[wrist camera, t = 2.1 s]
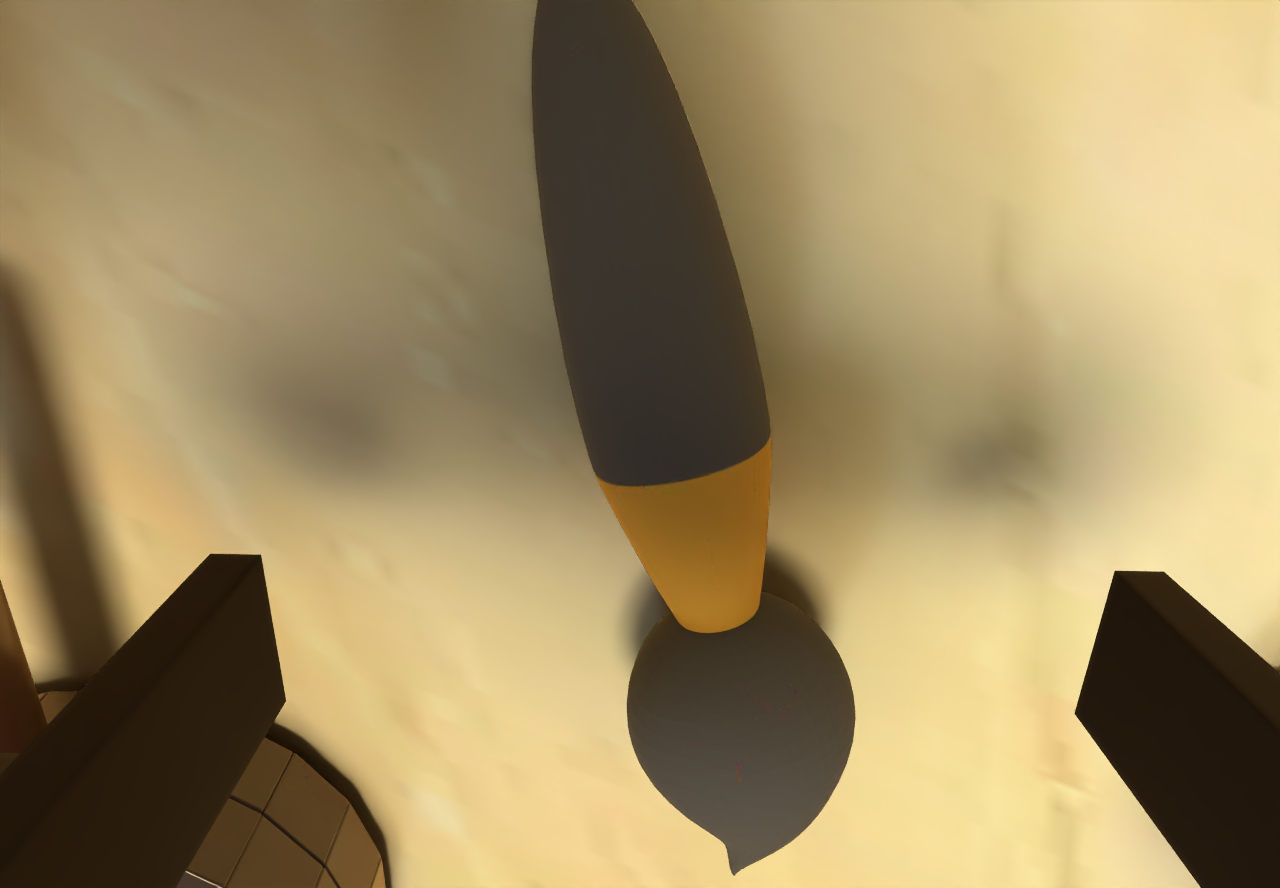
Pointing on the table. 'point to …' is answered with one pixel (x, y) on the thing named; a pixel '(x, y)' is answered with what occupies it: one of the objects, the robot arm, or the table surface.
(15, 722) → the pan handle
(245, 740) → the robot arm
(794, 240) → the table surface
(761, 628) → the paintbrush
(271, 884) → the pan
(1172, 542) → the table surface
